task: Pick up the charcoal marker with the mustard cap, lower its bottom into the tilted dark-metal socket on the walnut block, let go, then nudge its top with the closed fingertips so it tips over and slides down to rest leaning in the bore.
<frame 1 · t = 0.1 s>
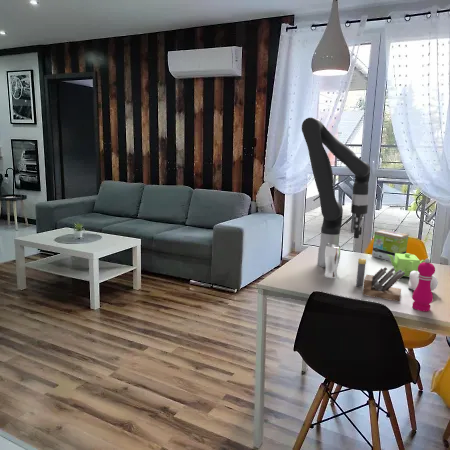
hand: (357, 236, 205), 17 cm above the table, tool pointing down, fingers open, 8 cm apart
pepper mill: (420, 308, 162), on the table
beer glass: (330, 277, 197), on the table
pretzel: (418, 291, 182), on the table
socket block: (381, 294, 175), on the table
marker: (359, 285, 186), on the table
kettle: (403, 276, 202), on the table
tea box: (388, 258, 232), on the table
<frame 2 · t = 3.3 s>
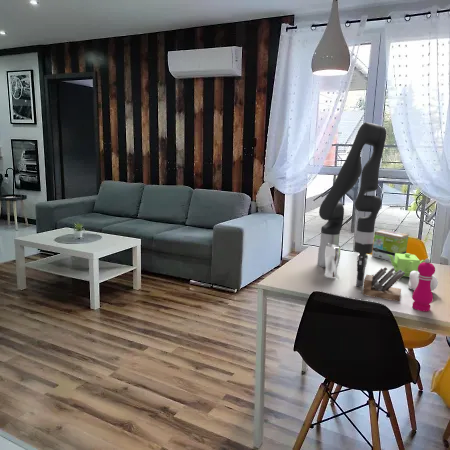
hand: (360, 278, 185), 3 cm above the table, tool pointing down, fingers closed on marker, 3 cm apart
marker: (359, 285, 186), on the table, touching gripper
everything else where it was.
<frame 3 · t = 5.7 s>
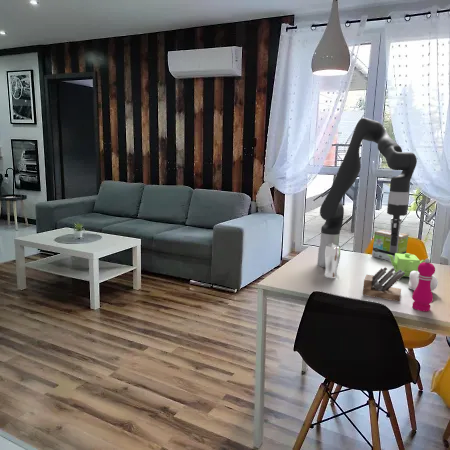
hand: (393, 244, 170), 22 cm above the table, tool pointing down, fingers closed on marker, 3 cm apart
marker: (393, 252, 171), point 19 cm above the table, touching gripper
everything else where it was.
when the fingers open (12 cm above the table, at t = 7.8 s): marker drops 3 cm, resting on socket block.
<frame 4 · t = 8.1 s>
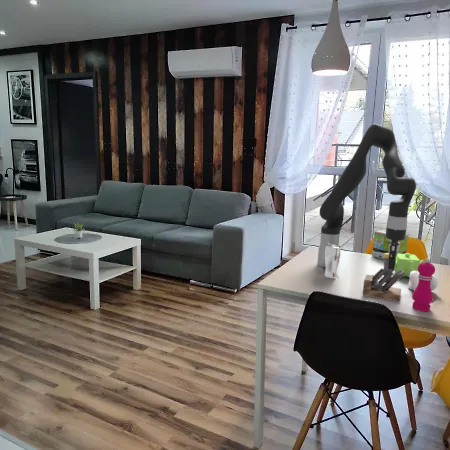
hand: (391, 266, 172), 13 cm above the table, tool pointing down, fingers open, 6 cm apart
marker: (387, 282, 174), point 6 cm above the table, tilted 5°, touching socket block
everything else where it was.
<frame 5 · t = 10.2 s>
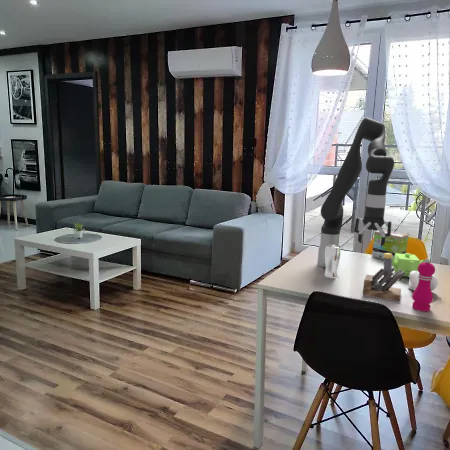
hand: (370, 244, 173), 21 cm above the table, tool pointing down, fingers open, 8 cm apart
nothing on the table moved.
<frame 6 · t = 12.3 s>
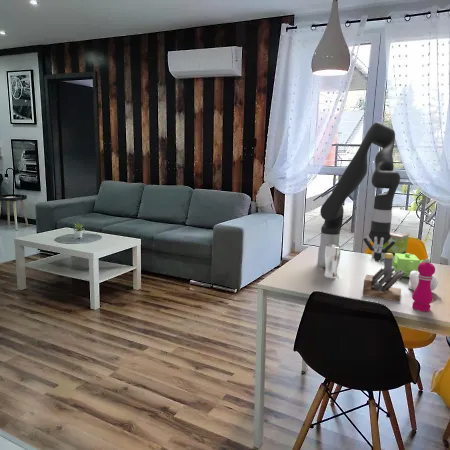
hand: (377, 261, 174), 14 cm above the table, tool pointing down, fingers closed
marker: (387, 281, 174), point 6 cm above the table, touching gripper, socket block
everything else where it was.
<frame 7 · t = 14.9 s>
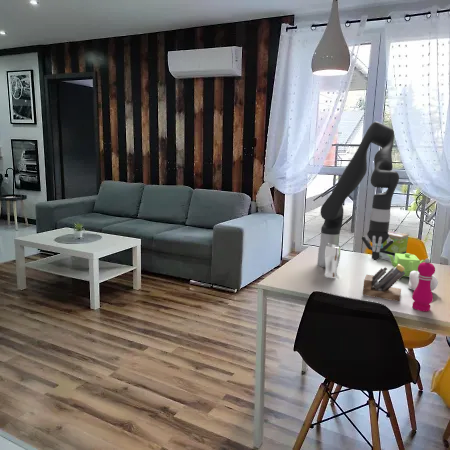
hand: (375, 260, 175), 14 cm above the table, tool pointing down, fingers closed
marker: (381, 286, 175), point 3 cm above the table, tilted 35°, touching socket block
everything else where it was.
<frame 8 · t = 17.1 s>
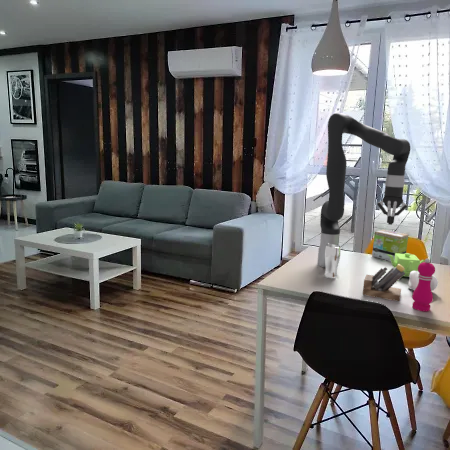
hand: (390, 224, 186), 27 cm above the table, tool pointing down, fingers closed
nothing on the table moved.
at the end: marker inside the target area on the socket block (0.4 cm from its centre), point 3.4 cm above the socket block's base; marker tilted 35°; the gripper is holding nothing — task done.
